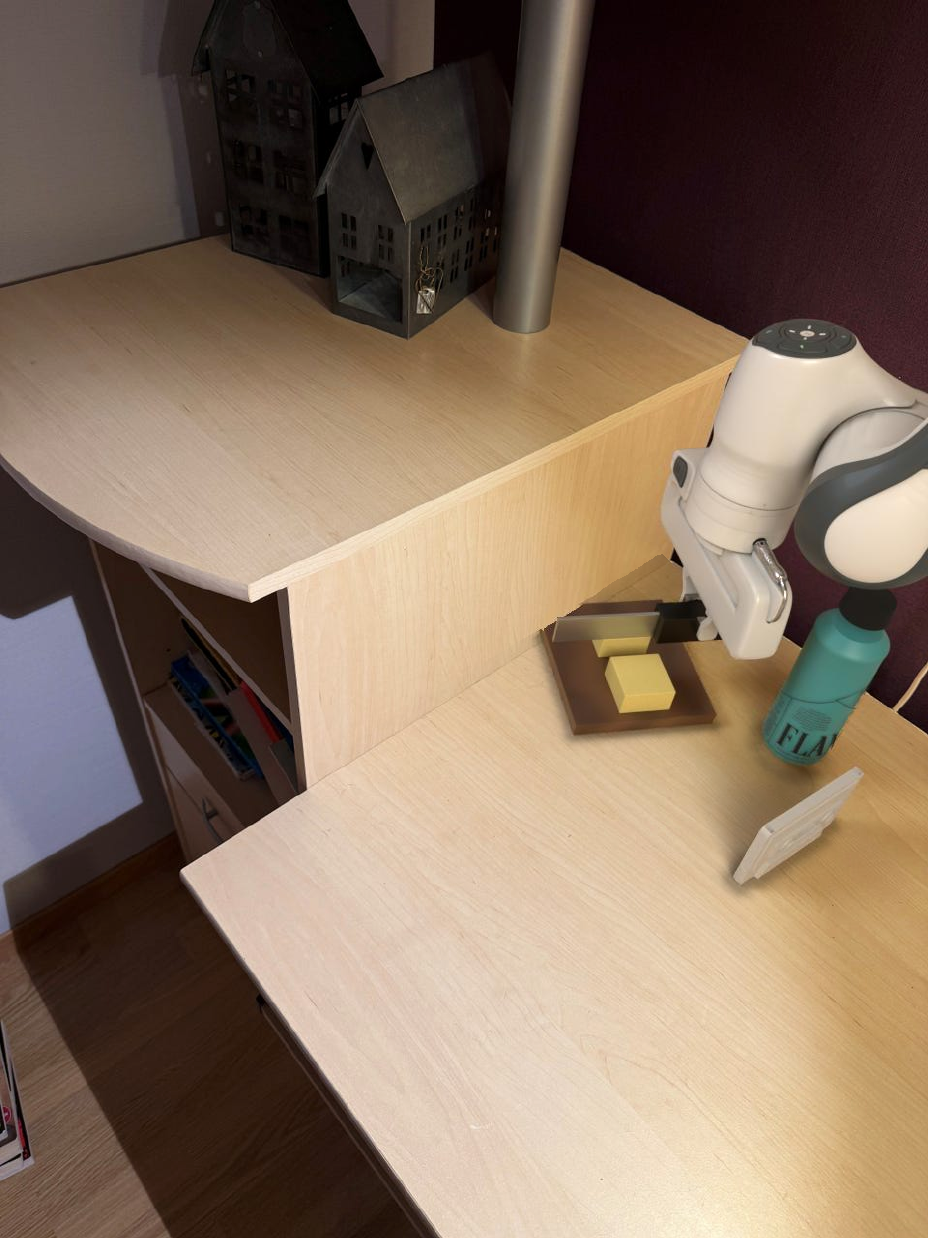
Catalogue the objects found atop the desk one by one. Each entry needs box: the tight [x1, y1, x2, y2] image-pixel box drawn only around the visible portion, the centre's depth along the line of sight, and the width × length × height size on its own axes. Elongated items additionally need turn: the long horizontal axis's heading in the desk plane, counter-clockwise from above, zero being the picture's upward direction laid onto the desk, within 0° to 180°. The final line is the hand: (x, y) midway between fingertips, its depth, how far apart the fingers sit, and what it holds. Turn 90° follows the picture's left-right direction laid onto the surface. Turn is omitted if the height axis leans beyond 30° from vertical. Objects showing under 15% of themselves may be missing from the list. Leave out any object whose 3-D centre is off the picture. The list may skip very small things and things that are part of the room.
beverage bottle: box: [761, 586, 898, 767], centre depth 79 cm, size 6×7×20 cm
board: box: [538, 599, 717, 736], centre depth 91 cm, size 14×16×2 cm
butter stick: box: [605, 654, 676, 713], centre depth 87 cm, size 5×5×2 cm
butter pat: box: [592, 637, 651, 657], centre depth 91 cm, size 5×3×2 cm, turn 100°
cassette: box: [732, 765, 865, 886], centre depth 75 cm, size 12×2×8 cm, turn 124°
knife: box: [552, 601, 723, 644], centre depth 86 cm, size 18×2×3 cm, turn 100°
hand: (696, 621), depth 87 cm, fingers closed on knife, 2 cm apart
